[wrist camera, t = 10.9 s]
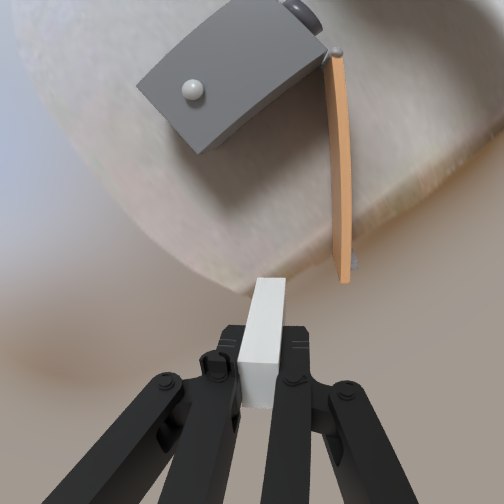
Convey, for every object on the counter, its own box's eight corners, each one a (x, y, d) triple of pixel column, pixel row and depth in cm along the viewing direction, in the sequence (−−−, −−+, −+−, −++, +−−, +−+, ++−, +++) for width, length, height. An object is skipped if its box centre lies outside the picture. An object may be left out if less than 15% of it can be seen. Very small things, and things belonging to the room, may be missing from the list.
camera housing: (276, -1, 28) (271, -32, 20) (333, 56, 30) (345, 37, 22) (165, 91, 34) (132, 85, 26) (216, 148, 36) (195, 155, 28)
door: (321, 62, 30) (329, 46, 23) (339, 62, 30) (351, 47, 23) (331, 253, 39) (339, 283, 32) (347, 253, 39) (358, 282, 32)
